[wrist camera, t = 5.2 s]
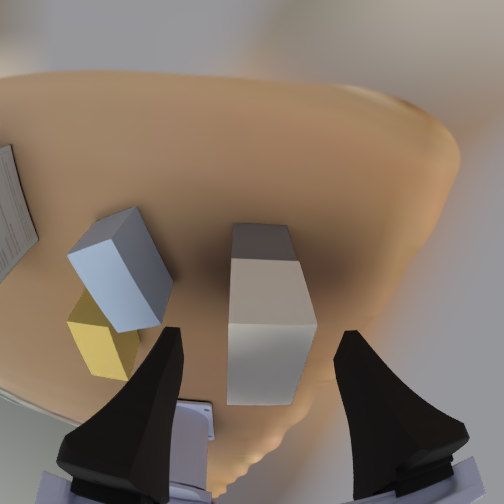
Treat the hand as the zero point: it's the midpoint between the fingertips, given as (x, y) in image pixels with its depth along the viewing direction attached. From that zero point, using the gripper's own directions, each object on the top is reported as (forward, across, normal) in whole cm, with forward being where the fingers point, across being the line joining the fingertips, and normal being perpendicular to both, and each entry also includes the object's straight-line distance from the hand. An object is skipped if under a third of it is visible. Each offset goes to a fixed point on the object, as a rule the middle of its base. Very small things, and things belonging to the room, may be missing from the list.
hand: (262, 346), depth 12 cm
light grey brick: (+2, 0, 0) cm, 3 cm away
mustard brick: (+6, +10, +5) cm, 13 cm away
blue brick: (+6, +8, 0) cm, 10 cm away
